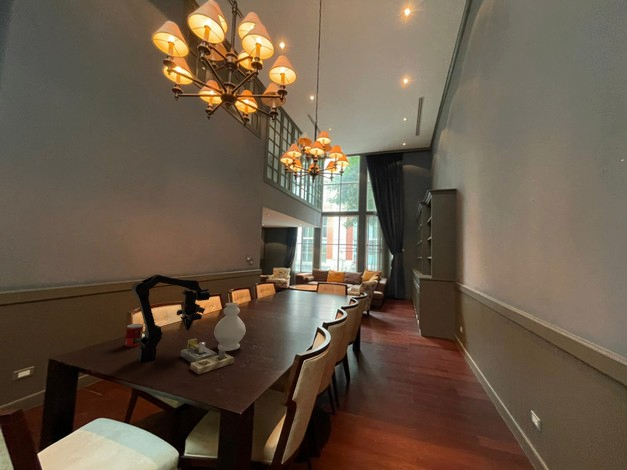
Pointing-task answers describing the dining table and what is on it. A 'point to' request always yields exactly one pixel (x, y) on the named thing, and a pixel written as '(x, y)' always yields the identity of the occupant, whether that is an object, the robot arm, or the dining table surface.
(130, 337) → the canned food
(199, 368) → the rack
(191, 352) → the socket
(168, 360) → the dining table surface
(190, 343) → the key
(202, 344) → the grey rounded cylinder
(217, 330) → the decorative vase
